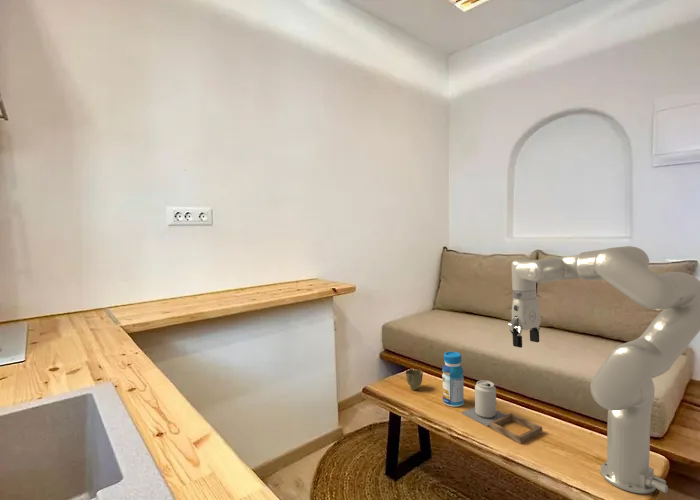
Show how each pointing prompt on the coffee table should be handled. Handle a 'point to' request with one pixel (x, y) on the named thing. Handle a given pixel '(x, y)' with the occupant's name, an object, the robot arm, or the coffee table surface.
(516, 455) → the coffee table surface
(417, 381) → the cup
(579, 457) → the coffee table surface
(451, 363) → the beverage bottle
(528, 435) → the wooden picture frame
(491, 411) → the can
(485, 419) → the mat
